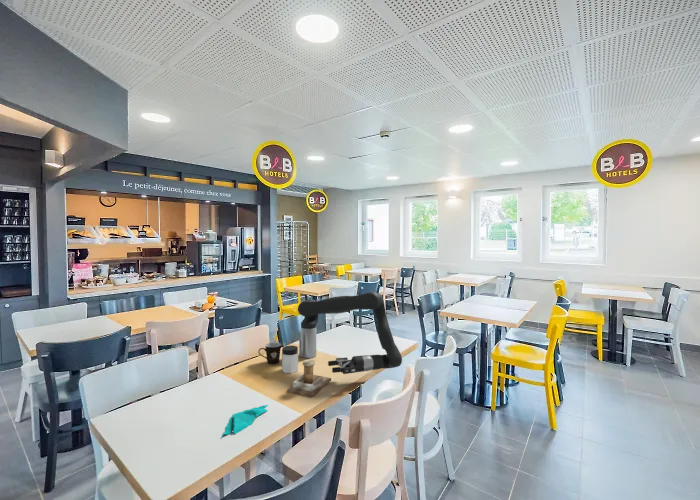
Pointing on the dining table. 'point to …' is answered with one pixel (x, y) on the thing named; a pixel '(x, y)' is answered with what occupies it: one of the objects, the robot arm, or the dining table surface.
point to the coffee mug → (272, 352)
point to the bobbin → (308, 371)
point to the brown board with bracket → (308, 385)
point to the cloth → (243, 419)
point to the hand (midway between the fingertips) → (330, 366)
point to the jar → (289, 359)
